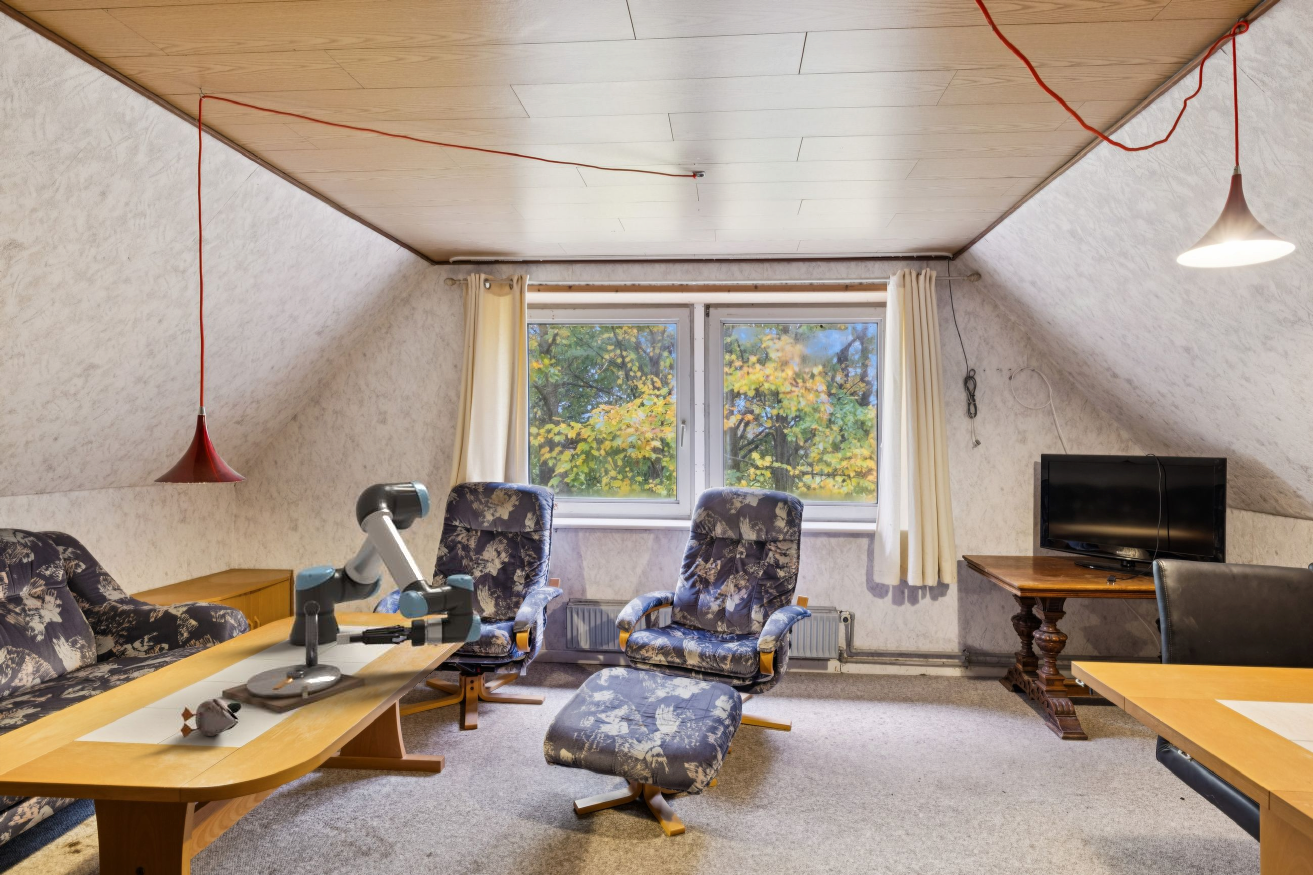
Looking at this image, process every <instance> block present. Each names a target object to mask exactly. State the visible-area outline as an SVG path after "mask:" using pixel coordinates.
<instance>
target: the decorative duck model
mask: <svg viewBox="0 0 1313 875" xmlns="http://www.w3.org/2000/svg"><path fill="white" fill-rule="evenodd" d="M241 709H242V704H241V703H240V702H238V701H237V702H236V701H235V702H234V701H233V702H230V703H228V704H227V703H226V702H225V701H224V700H222V699H220V698H211V699H207V700H204V701H203V702H201V703H200V704H199V705H198V706H197V708H196V712H195V713H192V711H190V709H189V708H188V707H186V706H185V708H184V710H183V712H181V717H182V718H183V725H182V727H181V728H180V730H179V731H180V732H181V734H182V737H183V739H185V738H186V737H188V736H189V735H190V734H191V733H192V732H195V731H199V732H200V733H201V734H202V735H204V736H206V737H213V736H218V735H219V734H221V733H223V732H226V731H229V730H231V729H233V728H234V727H235V726H236V725H237V724H238V723H239V721H238V720H239V718H238V717H237V715H236V714H237V713H238V712H239V711H240V710H241ZM193 718H195V726H196V728H191V727H190V726H189V725H188V724H187V723H186V722H187V721H189V720H190V719H193Z"/></svg>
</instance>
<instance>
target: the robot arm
mask: <svg viewBox="0 0 1313 875" xmlns="http://www.w3.org/2000/svg"><path fill="white" fill-rule="evenodd" d="M430 499H431V498H430V494H429V492H428V489H427V488H426V486H425V485H424V484H423V483H421V482H418V481H405V482H401V481H400V482H391V483H389V482H388V483H387V482H386V483H383V482H381V483H375V484H372V485H371V486H368V487H366V488H365V489H364V490H363V491H362V492H361V494H360V495H359V497H358V499H357V502H356V505H355V506H356V507H355V516H356V518H355V519H356V521H357V524H358V526H359V528H360V529H361V531H362V532H364V534H368V535H367V536H366V538H365V540H364V542H363V544H362V545H361V546H360V548H359V550H358V552H357V553H356V555H355V556H354V555H353V556H352V557H350V558H349V559H348V560H347V561H346V562H345V564H344V566H343V567H339V568H335V566H334V565H331V564H330V565H327V564H325V565H317V566H312V567H308V568H306V569H305V568H304V569H302V570H300V571H299V572H298V573H297V575H296V577H295V582H294V583H295V584H294V590H295V591H294V592H295V593H294V594H295V595H294V596H295V597H294V598H295V618H294V621H293V624H292V628H291V631H290V633H289V636H288V637H289V638H288V640H289V644H292V645H294V646H306V613H305V612H304V606H305V604H306V603H308V602H309V601H316V602H317V603H318V604H319V605H320V610H319V612H318V645H323V644H327V643H332V642H335V641H336V645H337V646H338V645H339V646H340V645H352V644H361V643H362V644H363V645H366V646H367V645H368V646H371V645H372V646H373V645H401V644H402V643H405V642H407V641H410V642H411V644H410V645H411V647H413V648H414V647H423V646H426V645H428V646H432V645H433V647H438V645H445V644H459V643H460V644H461V643H464V644H465V643H470V642H476V641H478V640H480V638H481V634H482V631H481V630H482V624H481V622H482V621H481V617H480V615H478V614H474V591H475V588H474V579H473V577H472V576H471V575H468V574H454V575H453V574H452V575H451V576H450V575H449V576H447V578H446V582H445V584H443V585H442V584H441V585H438V586H430V584H429V583H428V581H427V580H426V578H425V576H424V574H423V573H422V571H421V569H420V568H419V565H418V564H417V562H416V561H415V559H414V557H413V555H412V553H411V551H410V550H409V548H408V547H407V545H406V543H405V541H404V540H403V538H402V536H401V534H402V532H403V531H406V530H408V529H409V528H411V527H412V525H413V523H414V522H415V521H416V519H422V518H425V517H426V516H427V515H428V514H429V512H430V509H431V501H430ZM383 563H384V565H385V566H386V568H387V571H388V573H389V574H390V576H391V577H392V579H393V581H394V583H395V584H396V587H397V589H398V591H399V592H400V596H399V598H398V607H399V613H400V614H401V616H402V617H403V618H406V619H412V620H411V623H410V624H411V625H410V626H405V625H401V624H396V625H390V626H385V627H384V626H383V627H376V628H369V629H368V628H367V629H365V630H363V631H357V632H343V633H341V630H340V627H339V623H338V621H337V618H336V616H335V605H337V604H344V603H348V602H356V601H363V600H366V599H370V598H373V597H374V596H376V594H378V592H379V590H380V589H381V586H382V583H381V582H382V579H383V578H382V576H383V575H382V573H381V570H380V568H381V565H383ZM445 612H446V616H445V617H431V618H427V619H423V617H426V616H427V617H428V616H430V615H435V614H440V613H445ZM417 618H418V619H417ZM420 618H421V619H420Z"/></svg>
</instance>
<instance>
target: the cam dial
mask: <svg viewBox="0 0 1313 875" xmlns="http://www.w3.org/2000/svg"><path fill="white" fill-rule="evenodd" d="M319 610H320V605H319V604H318V603H317V602H316V601H309V602H308V603H306V604H305V606H304V612H305V613H306V645H305V663H303V664H294V665H286V666H281V667H275V668H273V669H268V670H265V671H262V672H260V673H259V672H258V674H254V675H253V676H252V677H249V679H247V682H246V683H247V692H248V693H249V694H251V695H253V696H257V697H263V698H285V697H294V696H301V695H302V685H307V686H308V694H311V693H315V692H319V691H322V690H325V689H327V688H330V687H332V686H334V685H335V684H337V683H338V682H339V681H340V678H341V674H342V673H341V669H340V668H339V667H337V666H335V665H330V664H325V663H319V657H318V656H319V644H318V612H319Z"/></svg>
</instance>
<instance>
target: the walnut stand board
mask: <svg viewBox="0 0 1313 875" xmlns="http://www.w3.org/2000/svg"><path fill="white" fill-rule="evenodd" d="M363 685H365V678H363V677H357V676H354V675H349V674H346V673H345V674H344V673H341V678H340V681H339V682H338V683H337V684H335V685H334V686H332V687H330V688H327V689H325V690H322V691H319V692H315V693H311V694H308V686H307V685H302V695H301V696H294V697H285V698H263V697H257V696H253V695H251V694H249V693H248V692H247V682H246V683H243V684H239V685H237V686H233V687H229V688H227V689H224V690H222V691H221V697H222V696H223V697H222V698H226V697H227V698H226V699H229V698H231V699H230V700H233V699H234V700H233V701H236V700H237V702H239V703H240V702H241V703H244V704H248V705H252V706H255V707H259V708H262V709H265V710H269V711H271V712H272V711H273V712H277V713H281V714H283V712H284V713H286V712H289V711H292V710H295V709H298V708H300V706H301V707H303V706H306V705H309V704H312V703H314V702H317V701H321V700H323V699H325V698H330V697H332V696H334V695H337V694H341V693H344V692H346V691H350V690H352V689H355V688H357V687H360V686H363ZM297 707H298V708H297Z"/></svg>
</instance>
